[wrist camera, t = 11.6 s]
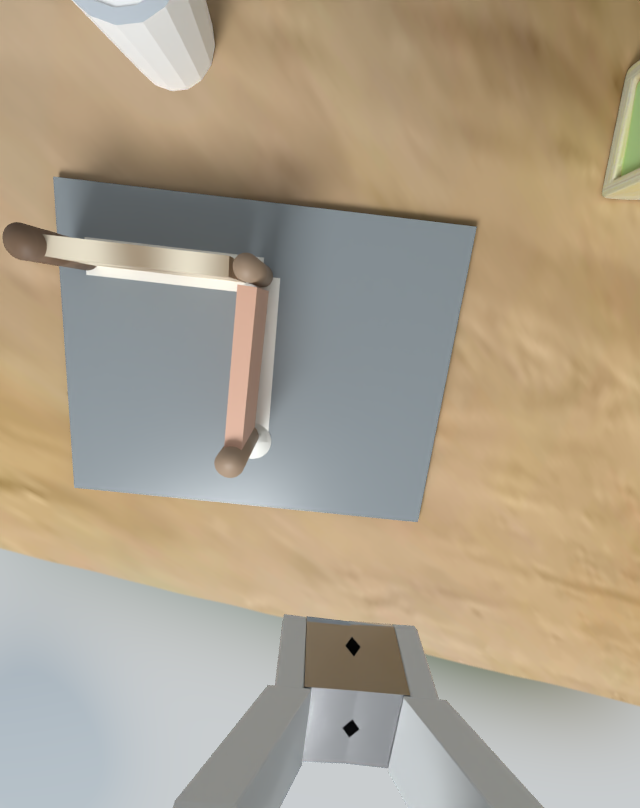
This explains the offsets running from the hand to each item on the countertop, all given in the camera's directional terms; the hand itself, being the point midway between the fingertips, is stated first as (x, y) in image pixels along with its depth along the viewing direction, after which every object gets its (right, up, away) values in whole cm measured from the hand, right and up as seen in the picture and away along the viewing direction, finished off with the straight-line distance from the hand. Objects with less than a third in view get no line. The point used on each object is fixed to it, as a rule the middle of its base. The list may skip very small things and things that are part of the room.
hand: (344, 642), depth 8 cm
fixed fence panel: (-12, +16, +18) cm, 27 cm away
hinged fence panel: (-6, +9, +20) cm, 23 cm away
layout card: (-6, +8, +21) cm, 23 cm away
